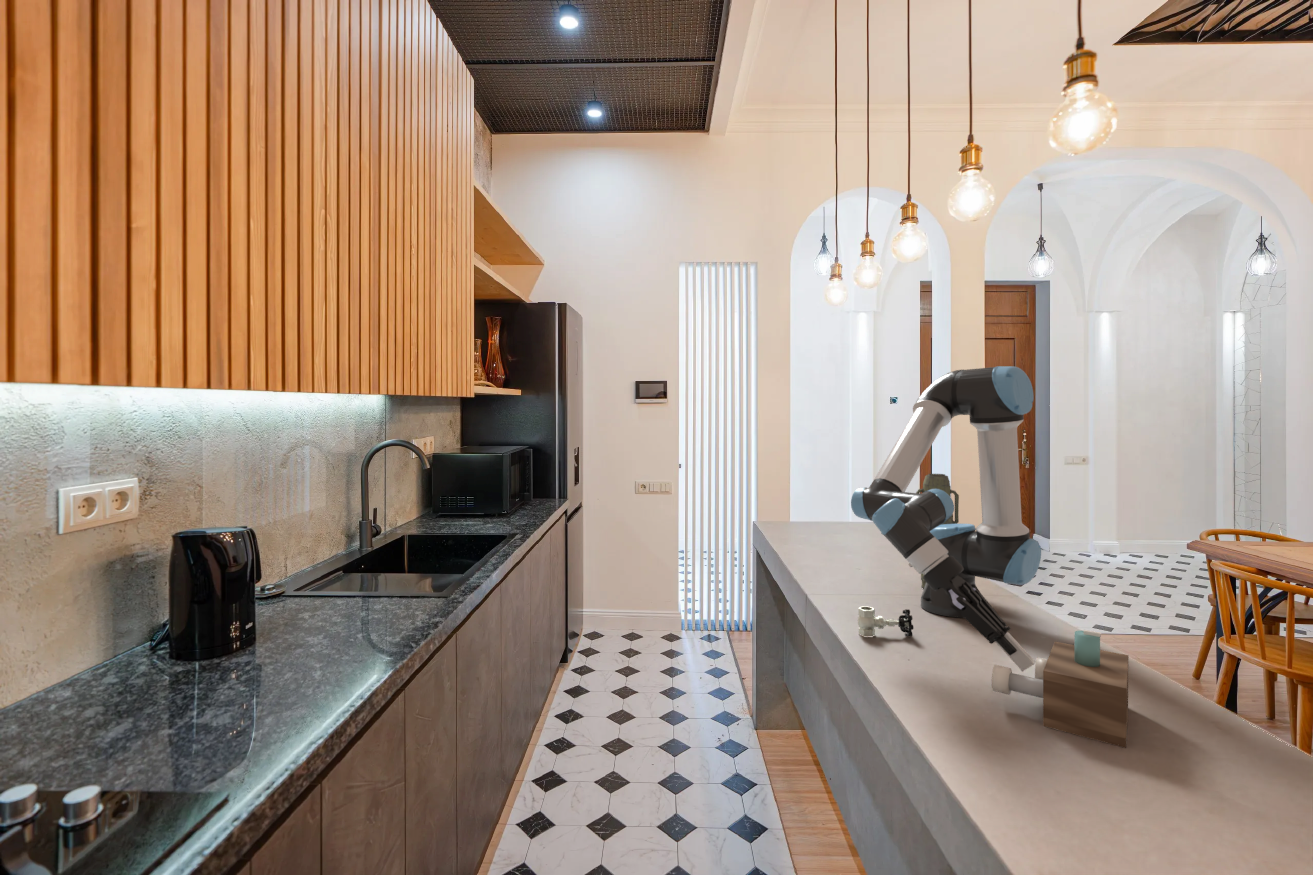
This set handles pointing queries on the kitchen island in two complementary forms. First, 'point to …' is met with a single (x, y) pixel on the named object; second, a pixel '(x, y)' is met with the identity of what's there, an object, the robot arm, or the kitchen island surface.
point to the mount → (1086, 695)
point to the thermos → (943, 484)
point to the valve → (882, 622)
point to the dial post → (1087, 648)
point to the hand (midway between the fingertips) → (1028, 666)
